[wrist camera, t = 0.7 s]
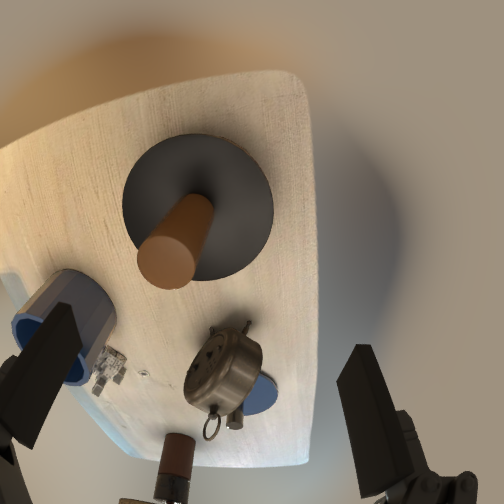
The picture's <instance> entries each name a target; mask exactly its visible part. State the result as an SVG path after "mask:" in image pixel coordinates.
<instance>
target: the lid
mask: <svg viewBox="0 0 504 504" xmlns="http://www.w3.org/2000/svg"><path fill="white" fill-rule="evenodd" d="M122 210H123V218H124V222H125V226H126V229H127V232H128V234H129V236H130V238H131V240H132V242H133V243H134V245H135V246H136V248H137V249H138V254H137V263H138V267H139V270H140V272H141V274H142V275H143V276H144V278H145V279H146V280H147V281H148V282H150V283H151V284H153V285H154V286H156V287H159V288H162V289H167V290H174V289H179V288H181V287H183V286H185V285H187V284H188V283H189V282H190V281H191V280H193V281H210V280H217V279H221V278H224V277H227V276H230V275H232V274H234V273H236V272H238V271H240V270H242V269H243V268H244V267H246V266H247V265H248V264H250V263H251V262H252V261H253V260H254V259H255V258H256V257H257V256H258V254H259V253H260V252H261V250H262V249H263V247H264V245H265V244H266V242H267V240H268V237H269V235H270V232H271V228H272V224H273V216H274V207H273V198H272V193H271V189H270V186H269V183H268V181H267V179H266V177H265V175H264V173H263V171H262V170H261V168H260V167H259V165H258V164H257V163H256V162H255V160H254V159H253V158H252V157H251V156H250V155H249V154H248V153H246V152H245V151H244V150H243V149H242V148H240V147H238V146H237V145H235V144H234V143H232V142H230V141H227V140H225V139H223V138H220V137H216V136H213V135H207V134H184V135H179V136H175V137H172V138H169V139H166V140H164V141H162V142H160V143H158V144H156V145H155V146H153V147H151V148H150V149H149V150H148V151H147V152H145V153H144V154H143V155H142V156H141V157H140V159H139V160H138V161H137V162H136V163H135V165H134V166H133V168H132V169H131V171H130V174H129V176H128V178H127V180H126V184H125V187H124V192H123V199H122Z"/></svg>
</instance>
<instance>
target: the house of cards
mask: <svg viewBox="0 0 504 504" xmlns="http://www.w3.org/2000/svg"><path fill="white" fill-rule="evenodd" d="M116 353H117V352H116V351H114V350H113V349H111V348H110V347H109V346H107V348H106V350H105V352H104V353H103V354H102V355H101V357H100V359H99V360H98V362H97V364H96V366H95V369H94V372H93V374H94V375H95V376H96V380H95V381H96V384H95V386H94V387H93V389H92V393H93V394H94V395H96V396H97V397H99V395H100V394H101V392H102V390H103V389H104V386H105V384H106V383H107V382H108V381H109V380H110V379H113V382H115V383H116V384H118V385H120V383H121V381H122V380H123V378H124V374H125V372H126V369H125V368H124V367H122V365H123V364H125V362H126V358H125V357H123V356H122V355H120V354H119V352H118V353H117V354H116ZM138 373H139V374H140V375H141V376H142V377H146V376H150V375H149V374H148V373H147V372H146V371H143V372H138ZM113 375H114V377H113Z"/></svg>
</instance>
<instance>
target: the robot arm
mask: <svg viewBox="0 0 504 504" xmlns="http://www.w3.org/2000/svg"><path fill="white" fill-rule="evenodd" d="M82 347H83V344H82V341H81V337H80V334H79V331H78V328H77V324H76V321H75V317H74V314H73V310H72V306H71V304H67V303H63V302H58V303H57V304H56V305H55V307H54V308H53V309H52V311H51V312H50V313H49V314H48V316H47V317H46V318H45V320H44V321H43V322H42V324H41V325H40V326H39V328H38V329H37V330H36V332H35V333H34V335H33V336H32V337H31V339H30V340H29V342H28V343H27V344H26V346H25V347H24V349H23V350H22V352H21V353H20V355H19V356H18V357H17V356H14V355H12V356H11V357H9V358H8V359H7V360H6V361H4V363H3V364H2V366H1V367H0V504H33V503H32V501H31V498H30V496H29V493H28V490H27V488H26V485H25V482H24V479H23V476H22V473H21V470H20V467H19V463H18V460H17V457H16V453H15V449H14V445H13V443H12V441H11V439H12V437H14V438H15V439H16V440H17V441H18V442H19V443H20V444H22V445H24V446H26V447H27V448H29V449H31V450H32V449H33V447H34V444H35V442H36V439H37V437H38V435H39V432H40V430H41V428H42V426H43V424H44V421H45V419H46V417H47V415H48V412H49V410H50V409H51V406H52V404H53V402H54V400H55V398H56V396H57V394H58V392H59V390H60V388H61V386H62V384H63V382H64V380H65V378H66V377H67V375H68V373H69V371H70V369H71V367H72V365H73V363H74V362H75V360H76V358H77V356H78V354H79V353H80V351H81V349H82ZM336 382H337V386H338V390H339V395H340V398H341V403H342V407H343V412H344V416H345V420H346V425H347V429H348V434H349V439H350V443H351V448H352V453H353V458H354V463H355V468H356V473H357V479H358V484H359V489H360V495H361V498H367V497H372V496H376V495H378V494H380V493H382V492H384V491H385V494H386V496H384V497H382V498H381V499H379V500H377V501H376V502H375V503H374V504H378V503H380V502H381V503H380V504H476V501H477V490H478V481H477V478H476V476H475V474H473V473H472V472H470V471H465V472H463V473H461V474H460V475H458V476H457V477H441V476H439V475H438V474H436V473H435V472H433V471H431V470H430V469H429V467H428V465H427V462H426V459H425V456H424V452H423V450H422V446H421V444H420V441H419V439H418V435H417V432H416V431H415V426H414V424H413V421H412V418H411V417H410V416H409V415H408V414H407V412H406V411H405V410H400V411H396V410H395V407H394V404H393V402H392V399H391V396H390V393H389V391H388V388H387V385H386V383H385V380H384V377H383V375H382V372H381V370H380V367H379V364H378V362H377V359H376V357H375V354H374V352H373V350H372V347H371V345H367V344H356V346H355V348H354V350H353V351H352V354H351V355H350V357H349V359H348V361H347V363H346V365H345V367H344V368H343V370H342V372H341V374H340V376H339V378H338V379H337V381H336Z"/></svg>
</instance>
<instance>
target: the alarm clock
mask: <svg viewBox="0 0 504 504" xmlns="http://www.w3.org/2000/svg"><path fill="white" fill-rule="evenodd" d="M250 325H251V321H247V324H246V326H245V327H244V329H243V330H242V332H239V331H238V330H236V329H234V328H226V329H223V330H221V331H219V332H217V333H216V334H214V330H213V328H212V327H210V329H209V330H210V335H211V337H210V338H209V340H208V341H207V342H206V343H205V344H204V346H203V347H202V348H201V349H200V351H199V352H198V354H197V355H196V357H195V359H194V360H193V362H192V364H191V366H190V368H189V370H188V371H187V375H186V378H185V382H184V396H185V399H186V400H187V402H188V403H189V404H191V405H192V406H194V407H196V408H198V409H200V410H202V411H204V412H206V413H208V417H209V418H208V419H207V421H206V422H205V425H204V428H203V437H204V439H205V440H206V441H211V440H213V439H214V438H215V436H216V435H217V433H218V431H219V429H220V425H221V417H222V416H225V415H228V414H230V413H231V412H233V411H234V410H235V409H236V408H237V407H239V406H240V405H241V403H242V402H243V401H244V400H245V399H246V398H247V396H248V395H249V394H250V392H251V391H252V389H253V387H254V385H255V383H256V381H257V378H258V376H259V373H260V370H261V366H262V360H263V355H262V349H261V346H260V345H259V344H258V343H257V342H255V341H253V340H251V339H250V338H248V337H247V336H246V334H247V332H248V329H249V326H250ZM217 417H218V425H217V428H216V430H215V432H214V434H213V435H212V436H211V437H210V438H207V437H206V427H207V424H208V422H209V420H210V419H212V420H215V419H216V418H217Z"/></svg>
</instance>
